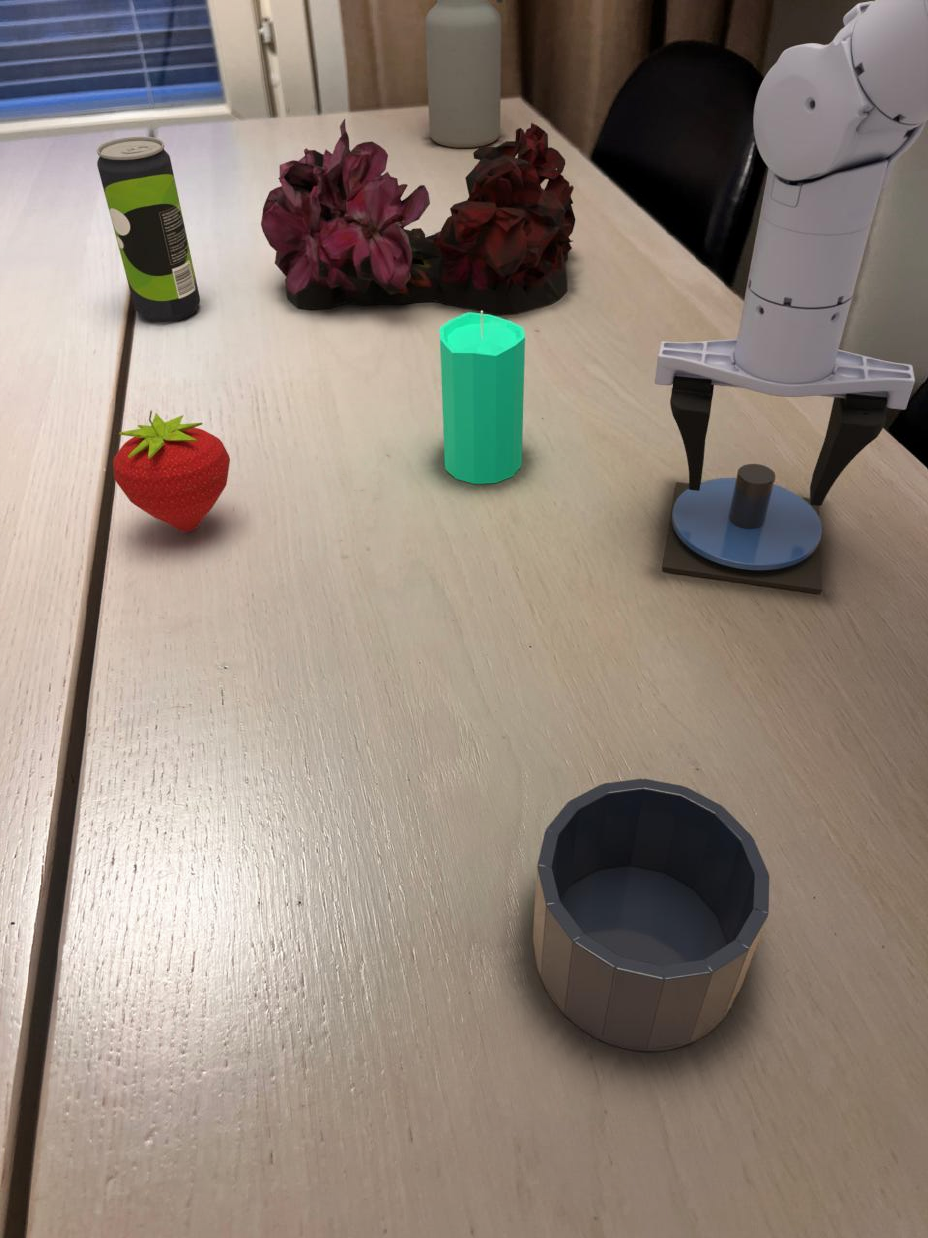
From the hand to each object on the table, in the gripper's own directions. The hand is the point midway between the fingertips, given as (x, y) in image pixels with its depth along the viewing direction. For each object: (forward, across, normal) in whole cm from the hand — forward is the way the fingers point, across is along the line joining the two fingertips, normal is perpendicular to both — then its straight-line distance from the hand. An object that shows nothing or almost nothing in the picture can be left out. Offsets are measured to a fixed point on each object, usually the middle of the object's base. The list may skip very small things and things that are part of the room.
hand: (754, 489), depth 62 cm
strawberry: (+4, +38, +8) cm, 39 cm away
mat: (+4, 0, 0) cm, 4 cm away
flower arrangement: (+4, +33, -35) cm, 48 cm away
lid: (+3, 0, 0) cm, 3 cm away
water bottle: (+4, +41, -83) cm, 93 cm away
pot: (+4, +4, +32) cm, 32 cm away
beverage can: (+4, +56, -24) cm, 61 cm away
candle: (+4, +20, -5) cm, 21 cm away
